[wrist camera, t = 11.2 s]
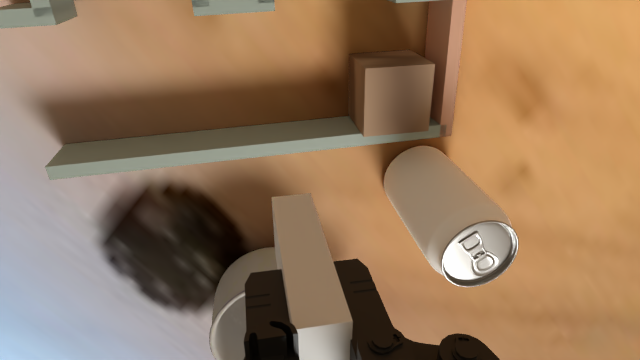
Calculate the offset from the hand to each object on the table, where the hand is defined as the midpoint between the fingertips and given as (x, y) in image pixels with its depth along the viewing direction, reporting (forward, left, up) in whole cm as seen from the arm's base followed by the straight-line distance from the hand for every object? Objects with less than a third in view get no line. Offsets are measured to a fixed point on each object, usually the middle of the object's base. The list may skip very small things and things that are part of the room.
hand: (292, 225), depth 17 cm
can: (+13, -9, -19) cm, 25 cm away
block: (+9, 0, -19) cm, 21 cm away
